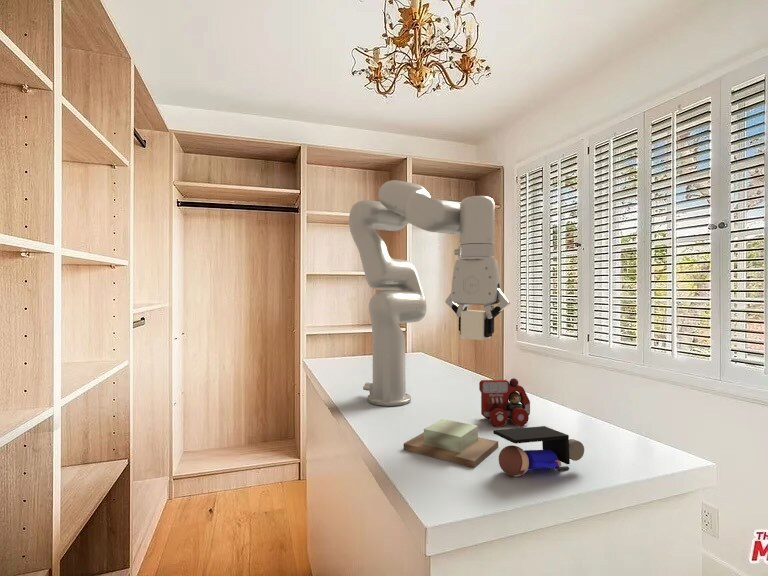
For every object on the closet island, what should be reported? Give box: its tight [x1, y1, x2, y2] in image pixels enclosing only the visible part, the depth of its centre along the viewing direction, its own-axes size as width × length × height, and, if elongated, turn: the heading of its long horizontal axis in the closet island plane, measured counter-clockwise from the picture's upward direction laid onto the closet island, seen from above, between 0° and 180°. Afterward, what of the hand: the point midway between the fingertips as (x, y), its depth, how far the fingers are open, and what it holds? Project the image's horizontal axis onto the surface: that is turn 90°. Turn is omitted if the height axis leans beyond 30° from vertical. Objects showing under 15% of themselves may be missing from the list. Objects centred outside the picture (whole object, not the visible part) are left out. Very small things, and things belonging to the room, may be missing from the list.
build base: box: [403, 418, 499, 469], centre depth 84 cm, size 15×12×4 cm
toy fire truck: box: [478, 377, 531, 428], centre depth 101 cm, size 7×12×10 cm, turn 97°
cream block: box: [460, 309, 492, 341], centre depth 93 cm, size 5×5×6 cm
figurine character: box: [492, 425, 585, 478], centre depth 74 cm, size 7×8×15 cm
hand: (475, 334), depth 93 cm, fingers closed on cream block, 5 cm apart
